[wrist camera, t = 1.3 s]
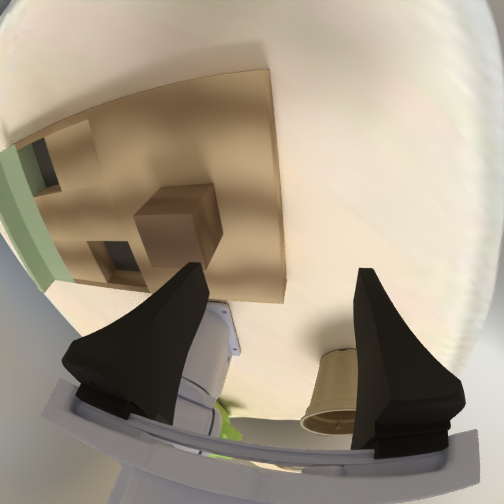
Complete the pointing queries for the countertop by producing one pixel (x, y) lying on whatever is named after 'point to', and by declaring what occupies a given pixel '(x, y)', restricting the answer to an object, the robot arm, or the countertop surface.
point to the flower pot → (334, 395)
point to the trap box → (151, 187)
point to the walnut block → (180, 225)
